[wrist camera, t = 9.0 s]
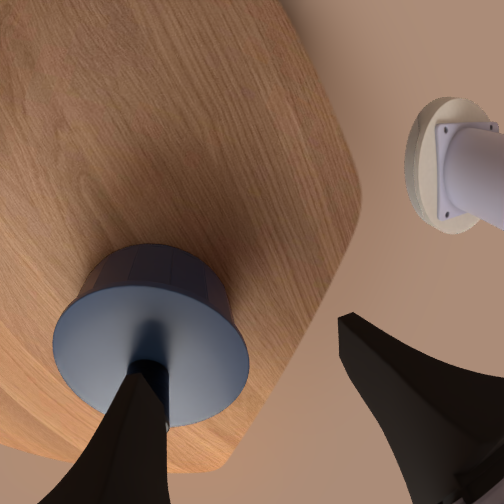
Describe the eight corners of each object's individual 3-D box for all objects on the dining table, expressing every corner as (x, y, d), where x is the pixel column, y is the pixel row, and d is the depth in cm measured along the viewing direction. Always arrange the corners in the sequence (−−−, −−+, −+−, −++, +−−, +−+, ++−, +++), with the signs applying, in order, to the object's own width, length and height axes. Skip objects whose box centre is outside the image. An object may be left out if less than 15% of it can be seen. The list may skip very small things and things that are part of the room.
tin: (205, 223, 18) (212, 261, 13) (243, 347, 23) (258, 399, 18) (60, 268, 17) (29, 313, 13) (123, 375, 22) (115, 426, 17)
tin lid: (216, 246, 14) (229, 302, 10) (262, 394, 19) (279, 450, 15) (25, 302, 13) (-10, 357, 9) (114, 423, 18) (109, 476, 14)
